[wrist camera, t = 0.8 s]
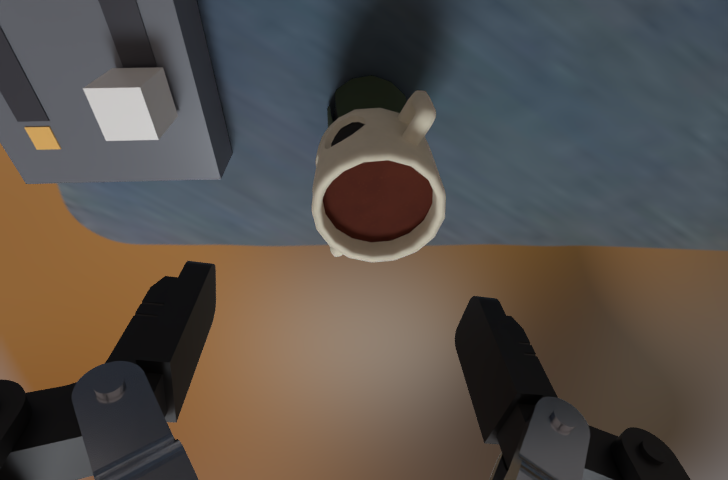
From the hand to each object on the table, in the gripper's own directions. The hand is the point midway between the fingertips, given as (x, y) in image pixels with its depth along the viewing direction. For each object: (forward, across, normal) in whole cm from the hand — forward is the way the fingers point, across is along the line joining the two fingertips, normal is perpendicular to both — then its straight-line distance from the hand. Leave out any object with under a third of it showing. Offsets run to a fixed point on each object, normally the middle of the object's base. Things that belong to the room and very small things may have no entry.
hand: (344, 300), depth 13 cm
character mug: (+22, -2, 0) cm, 22 cm away
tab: (+17, +12, 0) cm, 21 cm away
